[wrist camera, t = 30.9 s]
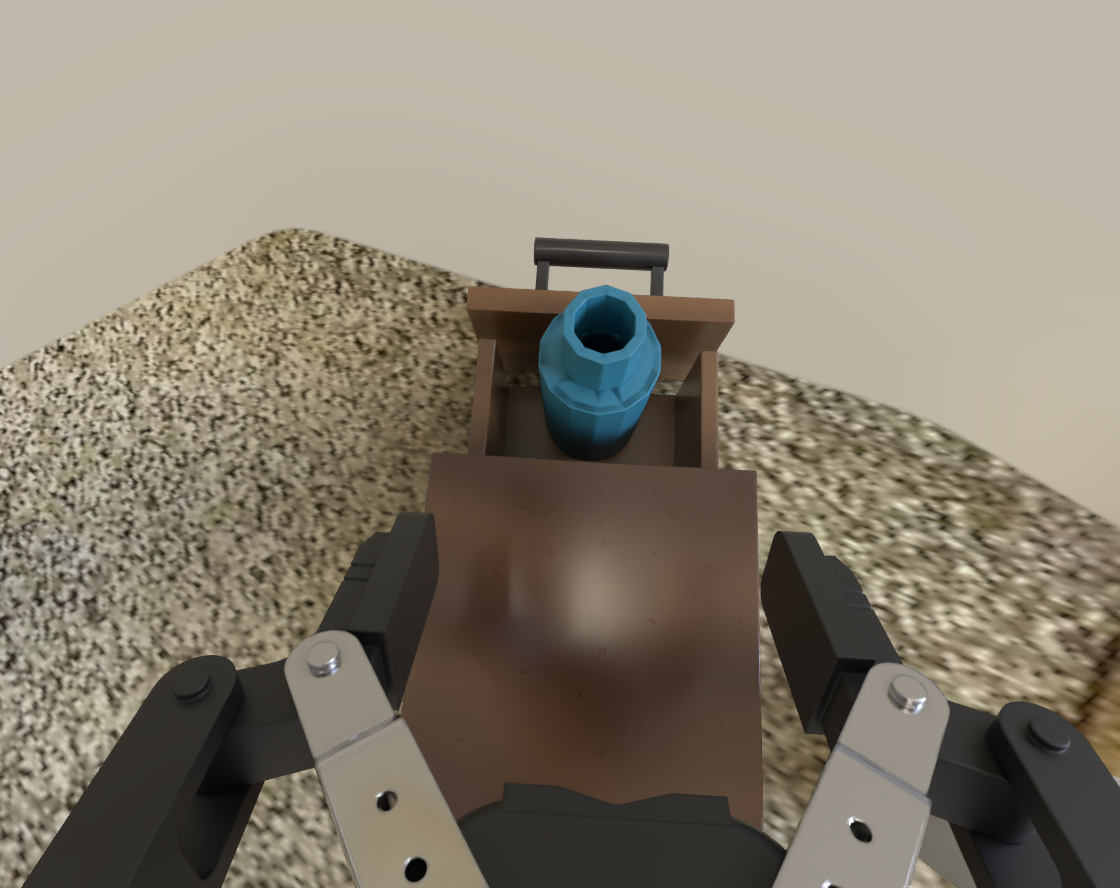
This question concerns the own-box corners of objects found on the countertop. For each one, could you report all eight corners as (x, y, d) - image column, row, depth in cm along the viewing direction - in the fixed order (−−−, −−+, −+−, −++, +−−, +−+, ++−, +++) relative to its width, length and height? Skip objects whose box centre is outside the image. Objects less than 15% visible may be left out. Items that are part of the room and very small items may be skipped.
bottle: (543, 459, 32) (530, 386, 21) (549, 372, 33) (540, 257, 22) (634, 464, 32) (673, 394, 20) (636, 376, 33) (674, 263, 22)
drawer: (496, 282, 36) (477, 202, 28) (698, 293, 36) (733, 214, 28) (467, 582, 32) (436, 581, 24) (696, 597, 32) (737, 600, 24)
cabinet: (468, 489, 34) (431, 451, 25) (704, 503, 34) (757, 470, 24) (441, 766, 30) (386, 844, 21) (703, 784, 30) (765, 873, 21)
